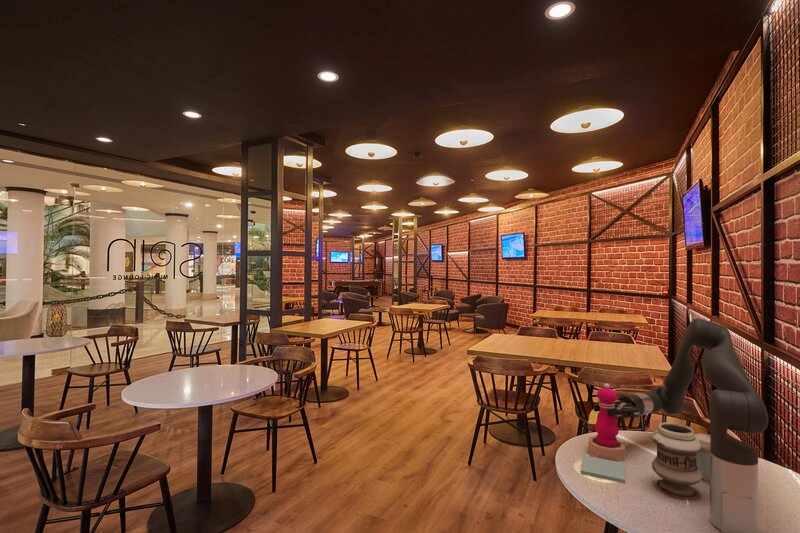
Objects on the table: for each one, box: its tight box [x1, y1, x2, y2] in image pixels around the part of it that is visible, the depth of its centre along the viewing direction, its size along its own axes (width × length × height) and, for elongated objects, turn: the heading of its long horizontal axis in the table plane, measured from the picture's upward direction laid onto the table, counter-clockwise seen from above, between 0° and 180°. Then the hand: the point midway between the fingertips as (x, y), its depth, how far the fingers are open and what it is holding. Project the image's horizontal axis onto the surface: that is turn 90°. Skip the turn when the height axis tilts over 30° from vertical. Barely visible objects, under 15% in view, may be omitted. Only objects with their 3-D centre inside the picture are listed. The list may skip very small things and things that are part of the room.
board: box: [580, 454, 626, 484], centre depth 130 cm, size 12×12×1 cm
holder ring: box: [587, 435, 626, 462], centre depth 141 cm, size 11×11×4 cm
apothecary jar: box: [651, 422, 703, 500], centre depth 119 cm, size 12×12×18 cm
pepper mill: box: [594, 383, 620, 446], centre depth 141 cm, size 7×7×20 cm
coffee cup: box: [694, 433, 710, 483], centre depth 126 cm, size 9×8×12 cm
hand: (601, 410), depth 140 cm, fingers closed on pepper mill, 4 cm apart
